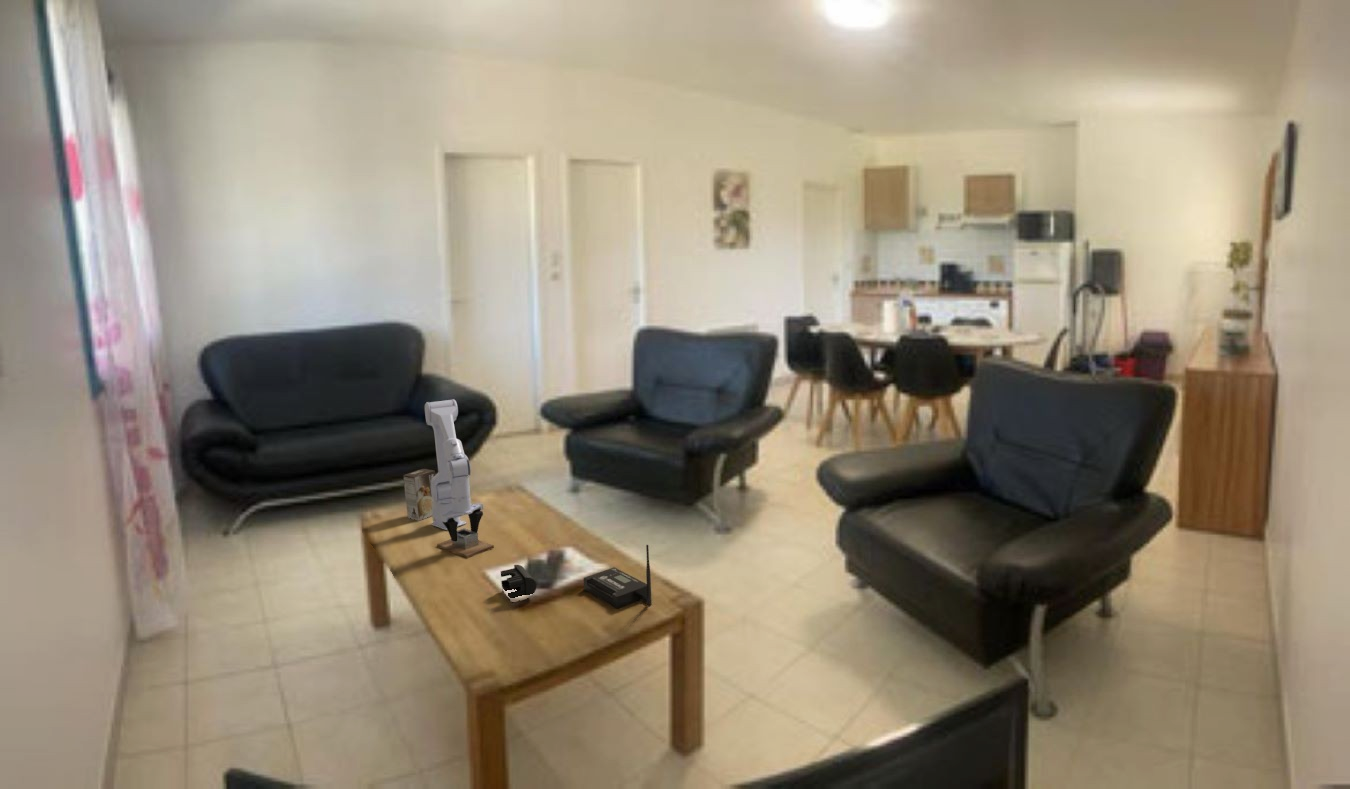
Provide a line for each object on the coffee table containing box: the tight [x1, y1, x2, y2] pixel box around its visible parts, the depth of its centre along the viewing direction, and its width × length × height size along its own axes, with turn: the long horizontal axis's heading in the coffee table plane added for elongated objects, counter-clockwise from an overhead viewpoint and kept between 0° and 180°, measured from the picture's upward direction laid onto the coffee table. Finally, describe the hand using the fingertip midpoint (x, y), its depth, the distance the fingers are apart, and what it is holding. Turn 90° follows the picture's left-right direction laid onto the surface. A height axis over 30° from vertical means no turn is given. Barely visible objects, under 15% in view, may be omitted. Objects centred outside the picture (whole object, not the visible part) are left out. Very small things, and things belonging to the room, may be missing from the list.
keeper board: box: [436, 534, 495, 559], centre depth 253 cm, size 16×10×4 cm, turn 50°
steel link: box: [452, 527, 479, 550], centre depth 253 cm, size 7×5×4 cm
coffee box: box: [402, 468, 436, 522], centre depth 282 cm, size 9×6×16 cm
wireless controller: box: [583, 544, 653, 610], centre depth 214 cm, size 20×14×17 cm
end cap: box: [500, 564, 537, 598], centre depth 218 cm, size 10×7×7 cm
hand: (464, 537), depth 253 cm, fingers open, 7 cm apart
